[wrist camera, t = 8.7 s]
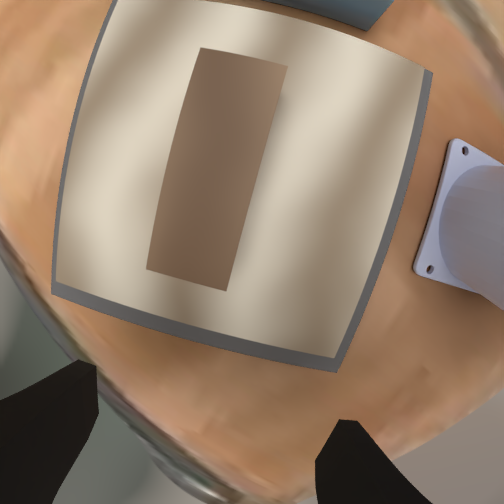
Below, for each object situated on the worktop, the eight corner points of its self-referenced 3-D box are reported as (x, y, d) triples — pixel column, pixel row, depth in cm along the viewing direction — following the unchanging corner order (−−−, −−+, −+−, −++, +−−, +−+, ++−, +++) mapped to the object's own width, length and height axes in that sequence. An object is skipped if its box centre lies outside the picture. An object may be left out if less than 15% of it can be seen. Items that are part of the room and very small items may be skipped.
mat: (428, 74, 14) (433, 72, 13) (335, 368, 18) (336, 372, 18) (117, 0, 13) (114, -3, 13) (55, 290, 18) (51, 293, 17)
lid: (416, 71, 13) (466, 46, 9) (330, 348, 18) (350, 405, 13) (126, 3, 13) (87, -38, 8) (64, 275, 17) (14, 309, 12)
